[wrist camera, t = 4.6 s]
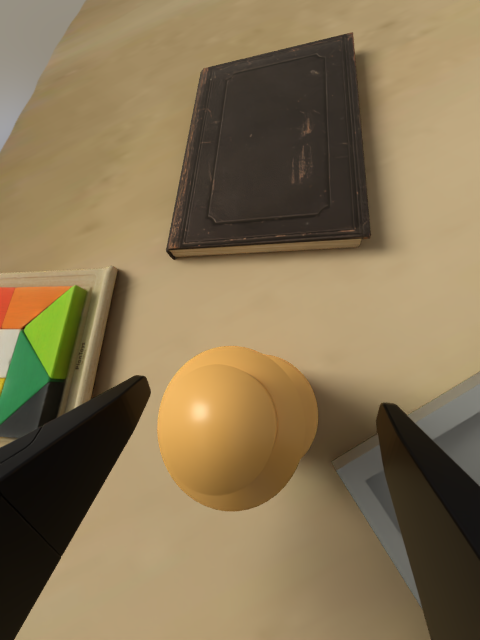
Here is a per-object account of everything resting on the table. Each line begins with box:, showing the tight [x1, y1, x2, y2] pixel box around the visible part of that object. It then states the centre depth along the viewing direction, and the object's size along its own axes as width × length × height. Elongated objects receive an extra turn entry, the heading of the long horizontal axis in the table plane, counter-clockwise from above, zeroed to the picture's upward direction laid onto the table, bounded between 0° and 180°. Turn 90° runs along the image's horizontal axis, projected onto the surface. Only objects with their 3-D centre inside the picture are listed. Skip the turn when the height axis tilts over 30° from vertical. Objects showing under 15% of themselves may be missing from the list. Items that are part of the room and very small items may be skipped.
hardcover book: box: [166, 33, 371, 260], centre depth 23 cm, size 16×23×2 cm
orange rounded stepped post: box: [157, 346, 318, 511], centre depth 11 cm, size 5×5×12 cm
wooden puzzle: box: [0, 266, 117, 447], centre depth 21 cm, size 18×19×4 cm
